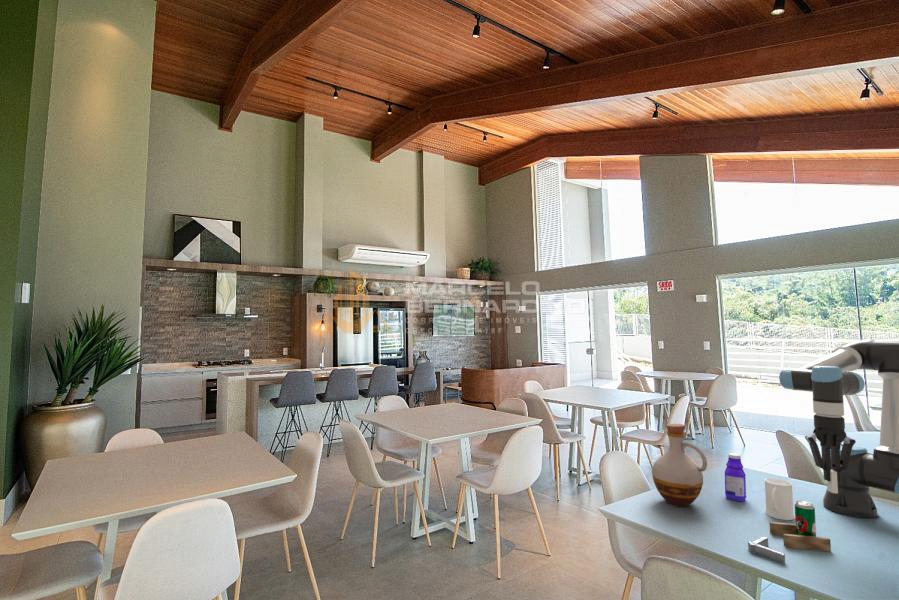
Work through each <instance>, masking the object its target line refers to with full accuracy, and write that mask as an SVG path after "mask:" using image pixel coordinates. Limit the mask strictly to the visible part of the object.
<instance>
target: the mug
mask: <svg viewBox="0 0 899 600" xmlns="http://www.w3.org/2000/svg"><path fill="white" fill-rule="evenodd" d="M764 491H765V514H766V515H767V516H768V517H770V518H774V519H777V520H782V521H793V520H795V511H794V498H793V495H794V494H793V483H792V482H790V481H788V480H785V479H781V478H775V477H774V478H773V477H769V478H764Z"/></svg>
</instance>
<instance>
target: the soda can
mask: <svg viewBox="0 0 899 600" xmlns="http://www.w3.org/2000/svg"><path fill="white" fill-rule="evenodd" d="M794 517H795V518H794V520H795V521H794V522H795V523H794V524H796V535H803V536H814V537H817V525H816V522H817V521H816V508H815V507H814V504H813V503H812V502H809V501H806V500H805V501H804V500H796V501H795V503H794Z"/></svg>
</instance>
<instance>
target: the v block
mask: <svg viewBox="0 0 899 600" xmlns="http://www.w3.org/2000/svg"><path fill="white" fill-rule="evenodd" d="M747 547H748V549H747V550H748V551H749V552H750V554H753V555H754V554H756V555H759V556H761V557H763V558H767V559H769V560H772V561H774V562H777V563H779V564H782V563H783V564H782V565H784V564H786V555H785V553H784V552H781V551H778V550H775V549H772V548H770V547H769V538H768V537H766V536H762V537H760V538H758V539H756V540H753V541H747Z"/></svg>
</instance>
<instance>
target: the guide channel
mask: <svg viewBox="0 0 899 600" xmlns="http://www.w3.org/2000/svg"><path fill="white" fill-rule="evenodd" d="M769 533H770V534H771V535H774V536H775V535H776V536H782V539H783V540H782V541H783V546H784V547H785V548H791V549H800V550H801V549H802V550H809V551H810V550H812V551H813V550H814V551H821V552H822V551H823V552H832V544H831V543H832V542H831V539H830V537H825V536H824V537H823V536H816V537H814V536H803V535H796V523H787V522H778V521H777V522H774V521H769Z"/></svg>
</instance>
